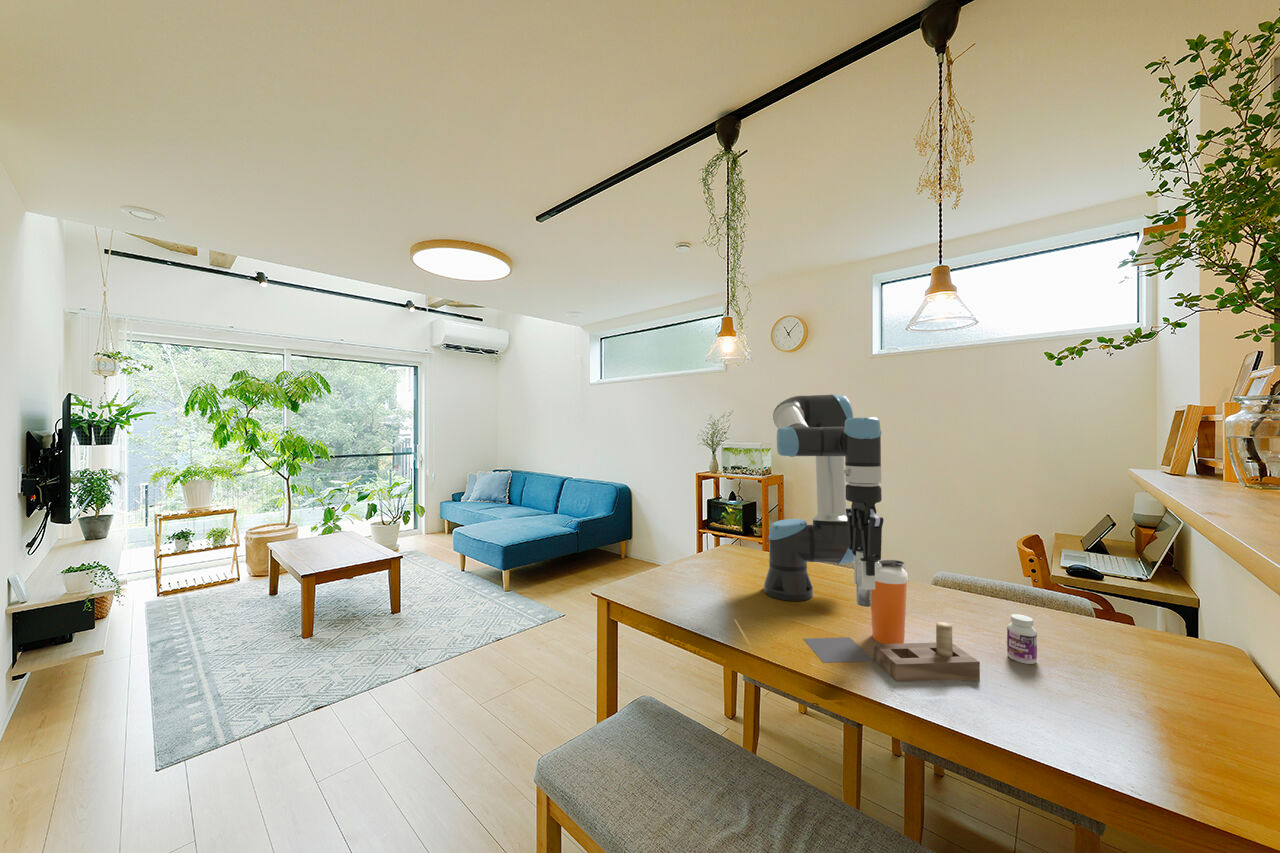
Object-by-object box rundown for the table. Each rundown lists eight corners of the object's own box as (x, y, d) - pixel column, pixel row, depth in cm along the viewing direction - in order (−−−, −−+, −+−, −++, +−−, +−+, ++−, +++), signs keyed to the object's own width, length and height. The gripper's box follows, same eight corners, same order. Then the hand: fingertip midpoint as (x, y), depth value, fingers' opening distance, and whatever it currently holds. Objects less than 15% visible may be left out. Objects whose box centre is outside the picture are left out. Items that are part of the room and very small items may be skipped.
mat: (803, 640, 119) (803, 638, 119) (849, 638, 119) (849, 637, 119) (823, 664, 107) (823, 662, 107) (875, 662, 107) (874, 661, 107)
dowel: (933, 666, 105) (933, 622, 105) (946, 666, 105) (946, 622, 105) (942, 674, 102) (942, 628, 102) (956, 673, 102) (955, 627, 102)
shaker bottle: (914, 650, 113) (913, 567, 113) (874, 647, 115) (873, 565, 115) (901, 633, 122) (900, 556, 122) (864, 631, 124) (863, 555, 123)
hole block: (873, 661, 108) (873, 644, 108) (950, 659, 108) (950, 642, 108) (896, 683, 99) (896, 664, 99) (979, 680, 99) (979, 661, 99)
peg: (854, 601, 110) (853, 550, 110) (867, 601, 110) (867, 550, 110) (860, 606, 106) (860, 553, 107) (874, 606, 106) (874, 553, 107)
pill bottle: (1006, 659, 108) (1006, 617, 108) (1007, 651, 112) (1007, 610, 112) (1037, 667, 104) (1036, 624, 104) (1037, 658, 108) (1037, 616, 108)
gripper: (832, 480, 116) (833, 575, 116) (863, 488, 100) (865, 598, 100) (862, 480, 116) (864, 575, 116) (898, 488, 100) (900, 598, 100)
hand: (864, 586), depth 108 cm, fingers closed on peg, 3 cm apart
